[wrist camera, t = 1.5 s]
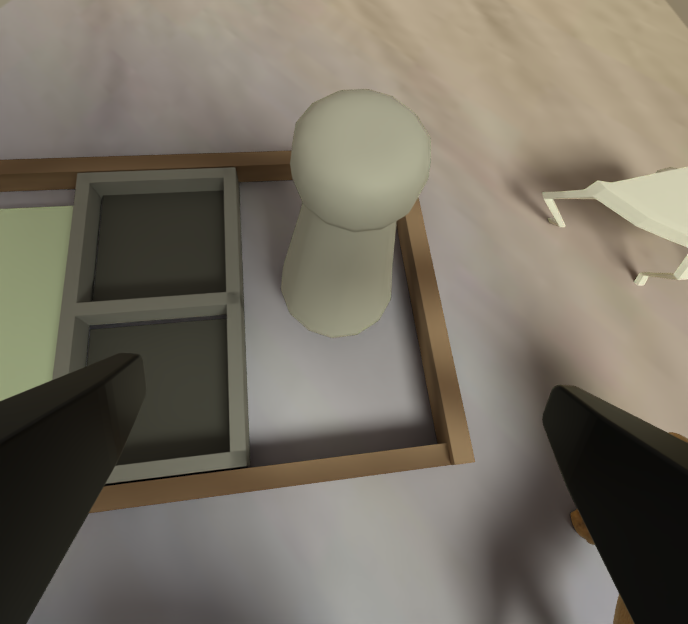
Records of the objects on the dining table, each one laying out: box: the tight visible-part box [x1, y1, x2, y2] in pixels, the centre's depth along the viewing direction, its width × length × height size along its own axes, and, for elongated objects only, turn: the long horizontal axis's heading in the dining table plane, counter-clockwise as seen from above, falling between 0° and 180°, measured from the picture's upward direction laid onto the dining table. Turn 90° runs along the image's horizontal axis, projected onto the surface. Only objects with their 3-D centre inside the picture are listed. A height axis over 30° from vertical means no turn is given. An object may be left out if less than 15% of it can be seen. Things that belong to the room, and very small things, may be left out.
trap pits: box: [52, 167, 250, 484], centre depth 22 cm, size 17×9×2 cm, turn 7°
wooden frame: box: [0, 151, 475, 513], centre depth 21 cm, size 19×30×2 cm, turn 97°
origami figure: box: [542, 167, 688, 285], centre depth 25 cm, size 12×8×5 cm
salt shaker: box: [281, 89, 431, 338], centre depth 18 cm, size 6×6×13 cm
